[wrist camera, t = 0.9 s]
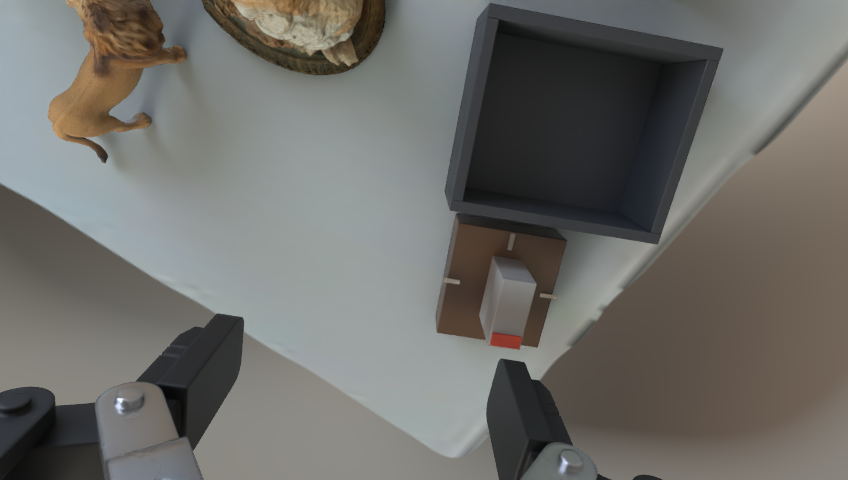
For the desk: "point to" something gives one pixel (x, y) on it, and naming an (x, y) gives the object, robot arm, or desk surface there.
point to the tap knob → (506, 302)
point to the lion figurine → (110, 68)
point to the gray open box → (576, 123)
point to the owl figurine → (304, 31)
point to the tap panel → (472, 264)
